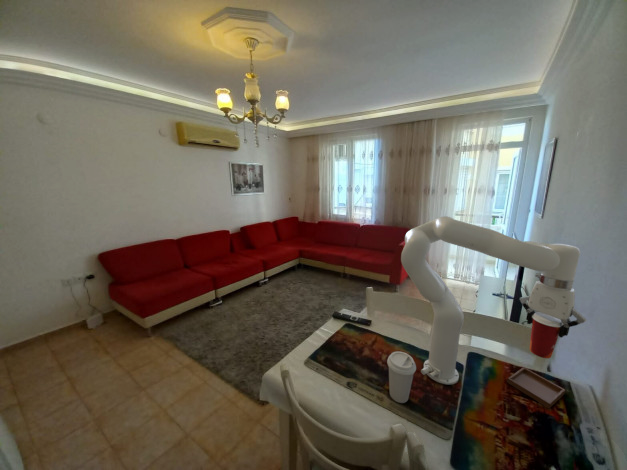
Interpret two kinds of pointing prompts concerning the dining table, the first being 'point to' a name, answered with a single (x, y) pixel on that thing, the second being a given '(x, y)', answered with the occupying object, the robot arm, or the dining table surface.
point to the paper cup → (544, 334)
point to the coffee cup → (400, 375)
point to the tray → (536, 387)
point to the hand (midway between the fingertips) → (545, 329)
